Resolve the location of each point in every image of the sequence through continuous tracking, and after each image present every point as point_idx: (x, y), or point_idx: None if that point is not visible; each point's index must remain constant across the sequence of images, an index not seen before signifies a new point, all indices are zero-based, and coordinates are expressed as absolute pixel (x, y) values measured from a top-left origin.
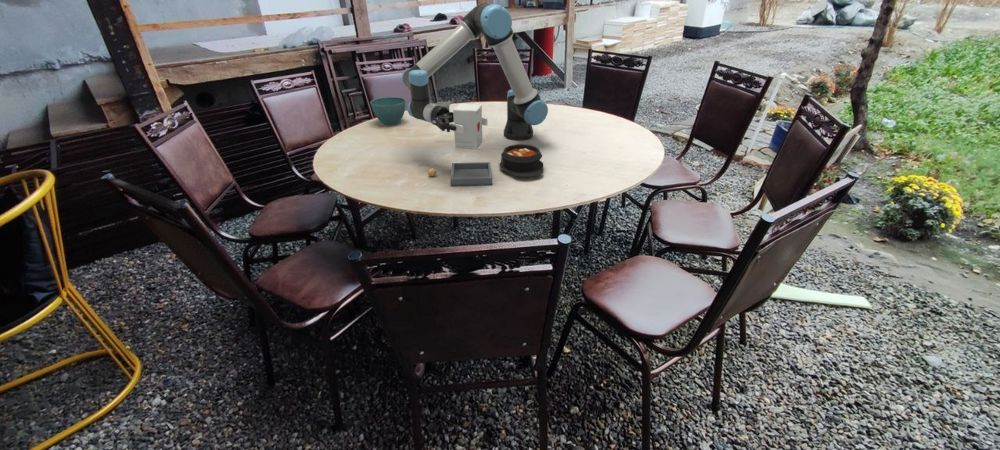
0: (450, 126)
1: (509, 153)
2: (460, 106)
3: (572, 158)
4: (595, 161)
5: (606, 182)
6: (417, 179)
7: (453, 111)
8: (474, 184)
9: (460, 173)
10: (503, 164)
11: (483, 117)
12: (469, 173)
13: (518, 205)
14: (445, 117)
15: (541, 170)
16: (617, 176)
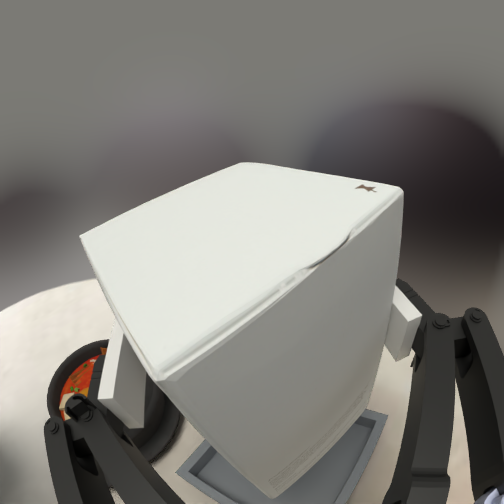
0: (420, 300)
1: None
2: (281, 226)
3: (29, 374)
4: (32, 342)
5: (99, 290)
6: (465, 500)
7: (401, 204)
8: None
9: (311, 494)
10: (149, 443)
11: (115, 323)
12: None
13: None
14: (437, 478)
15: None
16: (74, 295)
